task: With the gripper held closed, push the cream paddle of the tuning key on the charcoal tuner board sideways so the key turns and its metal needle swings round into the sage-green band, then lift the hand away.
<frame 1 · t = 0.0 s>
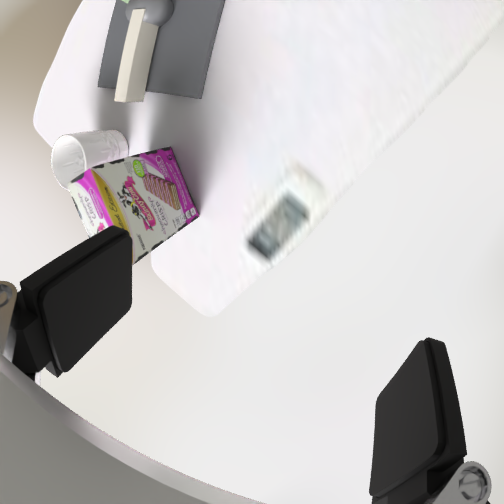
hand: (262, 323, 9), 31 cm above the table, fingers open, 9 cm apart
candy bar box: (174, 185, 44), on the table
tuner board: (160, 26, 34), on the table
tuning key: (145, 23, 31), point 4 cm above the table, hinge at 0.0°
white cup: (113, 149, 44), on the table
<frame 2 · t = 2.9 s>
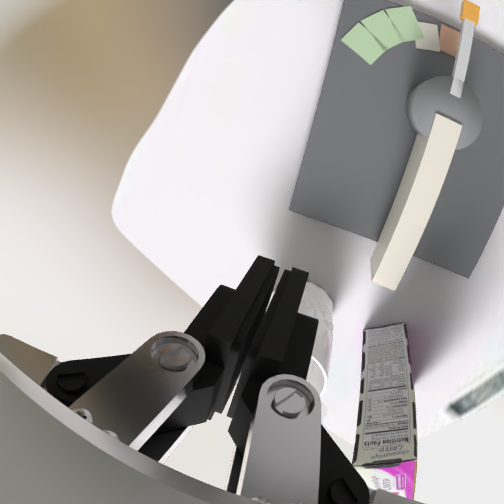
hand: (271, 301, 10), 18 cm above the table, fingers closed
candy bar box: (390, 359, 31), on the table
tuner board: (424, 134, 21), on the table
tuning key: (434, 140, 18), point 4 cm above the table, hinge at 0.0°
white cup: (301, 306, 32), on the table
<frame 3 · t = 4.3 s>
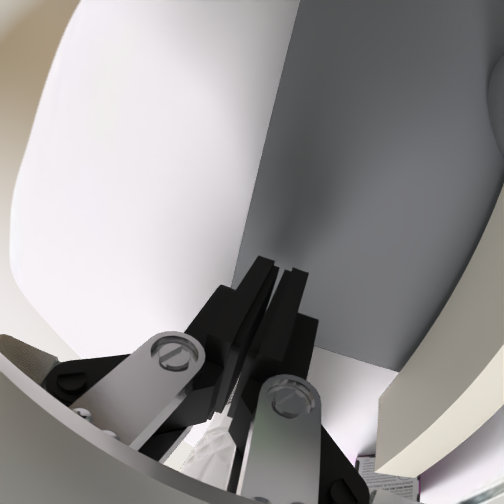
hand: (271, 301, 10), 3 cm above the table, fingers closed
candy bar box: (392, 477, 18), on the table
white cup: (264, 427, 19), on the table
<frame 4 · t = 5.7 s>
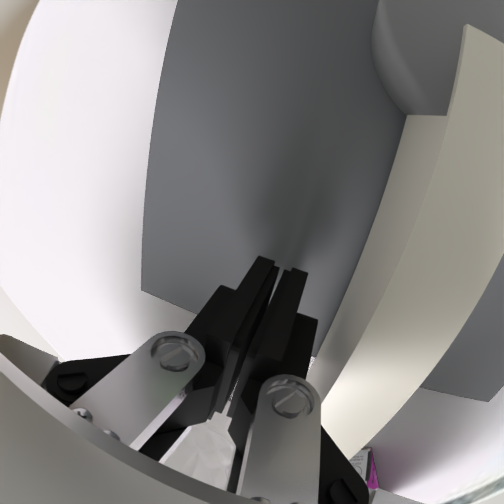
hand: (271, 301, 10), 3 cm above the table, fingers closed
candy bar box: (351, 476, 18), on the table
tuner board: (426, 117, 8), on the table
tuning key: (460, 130, 5), point 4 cm above the table, hinge at 0.7°, touching gripper
white cup: (208, 414, 19), on the table
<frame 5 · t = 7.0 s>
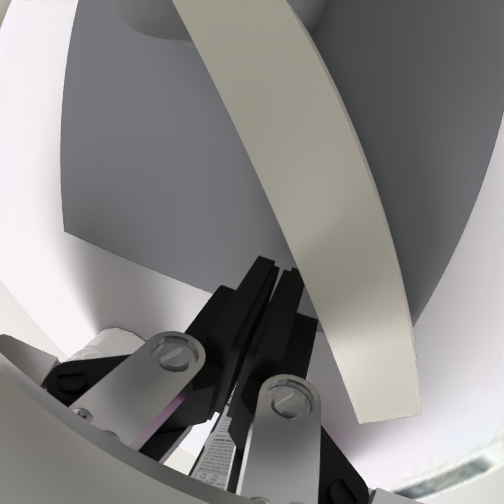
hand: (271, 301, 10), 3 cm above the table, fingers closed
candy bar box: (283, 443, 20), on the table
tuner board: (253, 52, 10), on the table
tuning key: (261, 31, 6), point 4 cm above the table, hinge at 37.0°, touching gripper
white cup: (137, 361, 21), on the table
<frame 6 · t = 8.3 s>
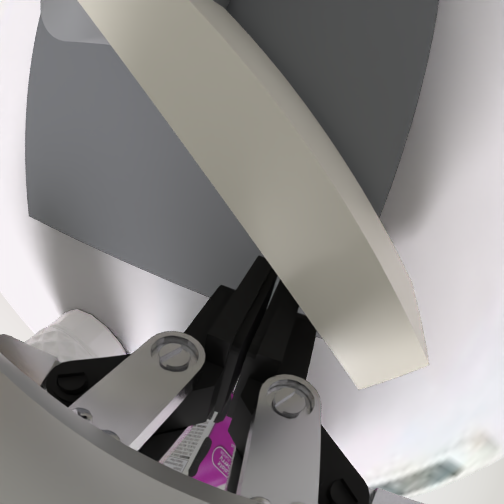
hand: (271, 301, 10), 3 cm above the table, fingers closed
candy bar box: (237, 432, 20), on the table
tuner board: (179, 44, 10), on the table
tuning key: (170, 12, 7), point 4 cm above the table, hinge at 49.7°, touching gripper
white cup: (98, 343, 21), on the table
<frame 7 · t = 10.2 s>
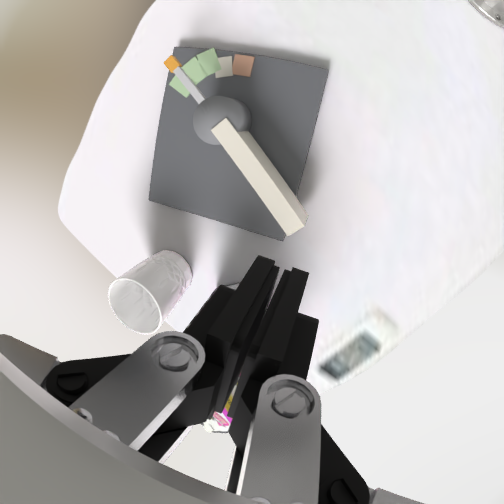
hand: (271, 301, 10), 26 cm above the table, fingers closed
candy bar box: (246, 316, 44), on the table
tuner board: (230, 136, 34), on the table
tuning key: (235, 136, 31), point 4 cm above the table, hinge at 49.9°
white cup: (172, 270, 44), on the table
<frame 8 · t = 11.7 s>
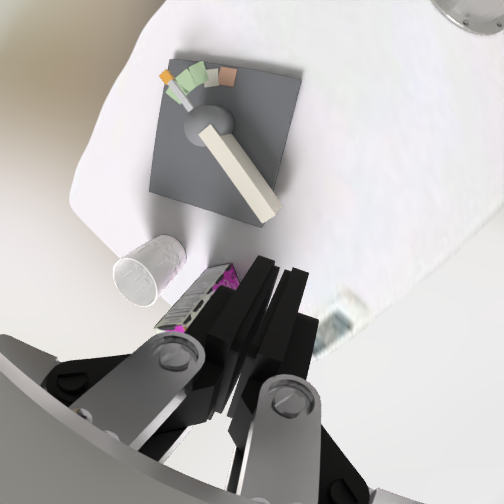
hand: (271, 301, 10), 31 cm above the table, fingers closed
candy bar box: (233, 293, 50), on the table
tuner board: (217, 138, 40), on the table
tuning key: (219, 139, 36), point 4 cm above the table, hinge at 49.9°
white cup: (169, 253, 50), on the table
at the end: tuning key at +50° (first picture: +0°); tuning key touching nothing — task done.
